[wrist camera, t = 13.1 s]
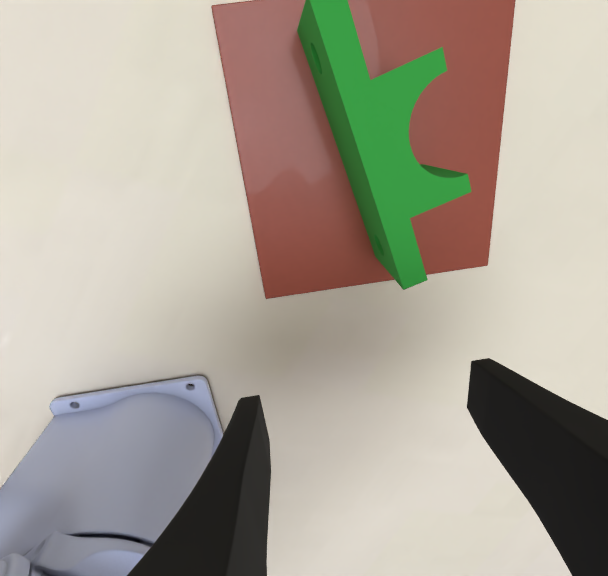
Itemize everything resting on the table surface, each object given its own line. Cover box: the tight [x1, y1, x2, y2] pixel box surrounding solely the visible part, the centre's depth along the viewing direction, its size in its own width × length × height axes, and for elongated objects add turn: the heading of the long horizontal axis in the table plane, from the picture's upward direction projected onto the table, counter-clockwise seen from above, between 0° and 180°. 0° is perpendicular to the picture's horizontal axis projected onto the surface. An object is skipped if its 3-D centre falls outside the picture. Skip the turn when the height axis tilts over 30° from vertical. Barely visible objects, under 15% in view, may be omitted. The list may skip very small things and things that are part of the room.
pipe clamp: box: [297, 0, 471, 290], centre depth 15 cm, size 11×4×5 cm, turn 23°
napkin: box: [211, 0, 515, 299], centre depth 18 cm, size 13×14×1 cm
